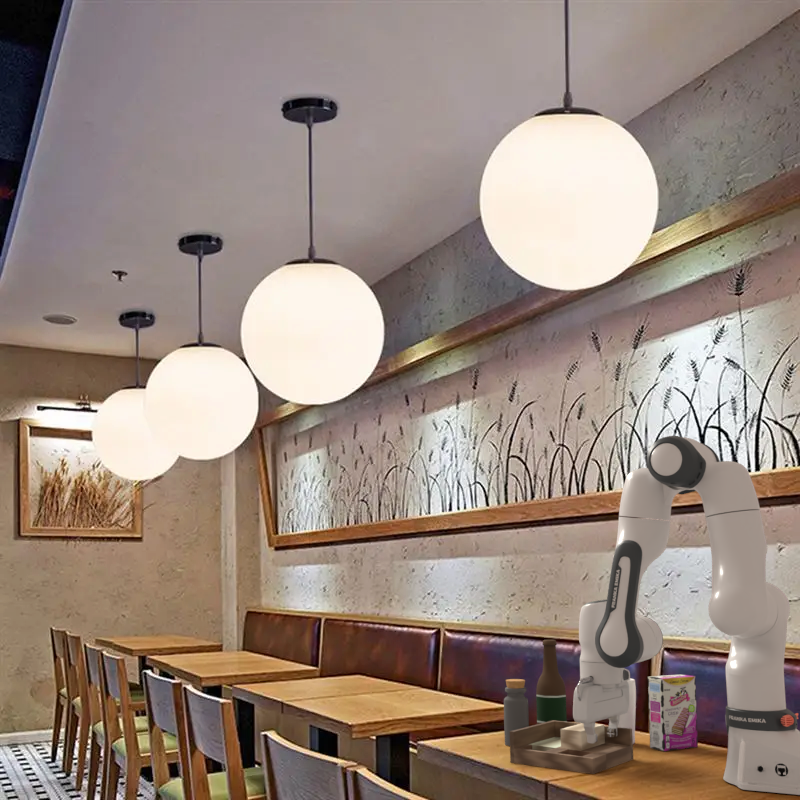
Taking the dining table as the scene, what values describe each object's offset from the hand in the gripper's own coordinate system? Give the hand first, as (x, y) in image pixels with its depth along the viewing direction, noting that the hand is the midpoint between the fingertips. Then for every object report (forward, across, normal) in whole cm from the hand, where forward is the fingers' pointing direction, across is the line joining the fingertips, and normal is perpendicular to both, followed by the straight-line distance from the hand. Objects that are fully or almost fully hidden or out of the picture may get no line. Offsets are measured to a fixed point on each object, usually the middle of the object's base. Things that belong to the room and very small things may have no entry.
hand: (602, 739), depth 215 cm
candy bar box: (+5, +25, -6) cm, 26 cm away
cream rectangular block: (+2, 0, +5) cm, 5 cm away
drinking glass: (+5, +23, +6) cm, 24 cm away
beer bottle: (+5, +17, +22) cm, 28 cm away
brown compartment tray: (+5, -2, +6) cm, 8 cm away
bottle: (+5, +7, +26) cm, 28 cm away
